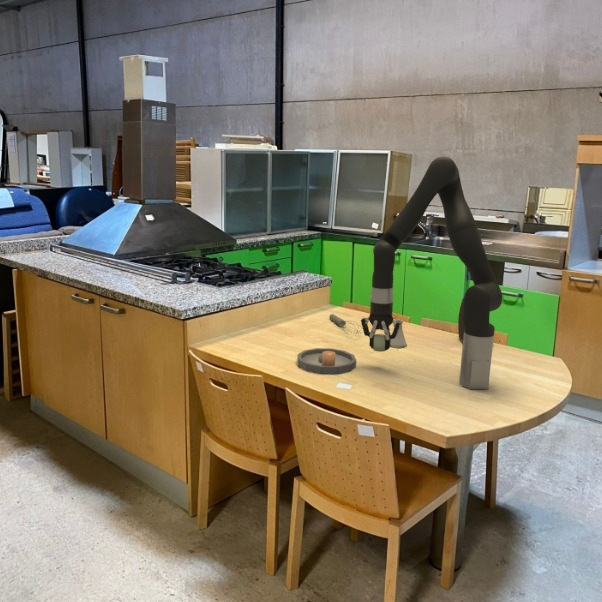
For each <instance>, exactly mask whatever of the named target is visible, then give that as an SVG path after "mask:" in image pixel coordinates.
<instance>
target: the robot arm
mask: <svg viewBox="0 0 602 602" xmlns="http://www.w3.org/2000/svg"><path fill="white" fill-rule="evenodd" d="M461 182H462V181H461V177H460V170H459V168H458V165H457V164H456V162H455V161H454V160H453V159H452V158H450V157H448V156H437V157H436V158H434V159H433V160H432V161H431V162H430V164H429V166H428V168H427V170H426V171H425V173H424V175H423V177H422V179H421V181H420V183H419V184H418V186H417V187H416V189H415V190H414V193H413V194H412V196H411V197H410V198H409V200H408V201H407V203H406V204H405V205H404V207H403V208H402V209H401V211H400V212H399V213H398V214H397V216H396V217H395V219H394V220H393V222H392V223H391V224H390V226H389V228H388V229H387V230H386V231H385V232H384V233H383V235H381V236H380V238H378V240H377V242H376V243H375V245H374V246H373V248H372V249H373V251H372V253H373V272H372V277H371V278H372V279H371V292H370V306H369V307H370V308H369V316H368V317H363V318H361V319H360V322H361V327H362V331H363V334H364V336H365V337H368V339H369V345H368V346H369V347H370V349H372V350H373V343H374V335H375V334H376V333H377V331H378V330H381V331H383V334H384V335H385V336H386V340H385V350H386V351H388V350H389V349H390V348H391V346H390V343H391V339H394V338H395V337H396V335H397V333H398V330H399V327H400V325H401V322H400V321H398V322H397V321H395V320H396V319H394V317H393V310H394V309H393V306H394V269H395V261H396V251H397V250H398V249H399V247H400V246H401V244H403V242H405V241H406V240H408V238H409V237H410V235H412V233H413V232H414V230H415V229H416V228H417V227H418V225H419V223H420V222H421V220H422V218H423V217H424V215H425V213H426V211H427V209H428V207H429V206H430V204H431V202H432V201H433V200H434V198H435V197H436V196H437V195H438V196H439V199H440V202H441V204H442V207H443V215H444V222H445V228H446V232H447V235H448V238H449V241H450V242H449V243H450V245H451V247H452V249H453V251H454V253H455V254H456V256H457V257H458V258H459V260H460V261H461V262H462V263H463V264H464V266H465V267H466V268H467V271H468V272H469V273H470V277H471V279H472V282H473V285H471V286H469V287H468V288H467V290H466V291H465V293H464V296H463V297H464V301H463V325H464V338H463V342H462V349H461V358H460V370H459V371H460V372H459V380H458V383H459V385H461V386H463V387H465V388H467V389H469V390H488V389H489V385H490V377H491V366H492V365H491V364H492V357H493V356H492V355H493V348H494V337H495V331H496V330H495V329H496V327H495V326H494V325H493V324H492V323H490V312H493V311H495V310H498V309H499V308H500V307H501V305H502V304H503V294H502V290H501V289H502V288H501V286H500V285H499V282H498V280H497V278H496V276H495V274H494V271H493V270H492V267H491V265H490V262H489V259H488V256H487V253H486V250H485V247H484V245H483V240H482V239H481V238H482V237H481V234H480V230H479V227H478V226H477V223H476V220H475V218H474V216H473V213H472V211H471V208H470V206H469V204H468V202H467V200H466V197H465V195H464V191H463V187H462V183H461ZM369 323H370V324H371V326H372V327H371V329H369V326H368V324H369ZM391 325H393V330H394V331H392V332H393V333H392V332H391V329H390V326H391ZM394 327H395V328H394Z"/></svg>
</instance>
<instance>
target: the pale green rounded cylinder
mask: <svg viewBox="0 0 602 602" xmlns="http://www.w3.org/2000/svg"><path fill="white" fill-rule="evenodd" d="M385 340H386V336H385V334H384V333H377V334H376V333H375V335H374V343H373V349H372V350H373V351H374V352H378V353H379V352H382V353H383V352H386V351H387V350H385Z"/></svg>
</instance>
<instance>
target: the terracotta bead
mask: <svg viewBox="0 0 602 602" xmlns="http://www.w3.org/2000/svg"><path fill="white" fill-rule="evenodd" d="M322 366H335V352H333V351H324V352H322Z"/></svg>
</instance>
